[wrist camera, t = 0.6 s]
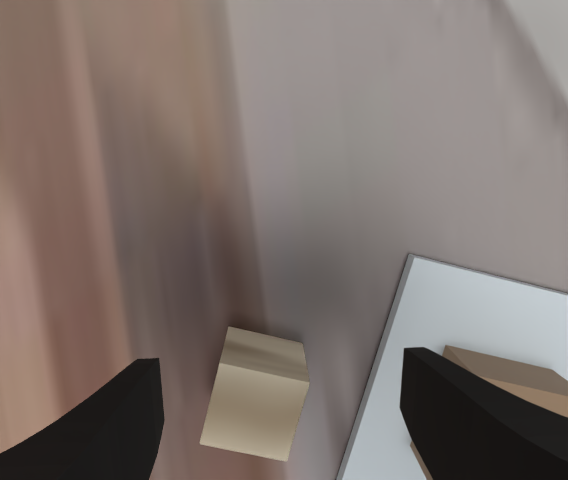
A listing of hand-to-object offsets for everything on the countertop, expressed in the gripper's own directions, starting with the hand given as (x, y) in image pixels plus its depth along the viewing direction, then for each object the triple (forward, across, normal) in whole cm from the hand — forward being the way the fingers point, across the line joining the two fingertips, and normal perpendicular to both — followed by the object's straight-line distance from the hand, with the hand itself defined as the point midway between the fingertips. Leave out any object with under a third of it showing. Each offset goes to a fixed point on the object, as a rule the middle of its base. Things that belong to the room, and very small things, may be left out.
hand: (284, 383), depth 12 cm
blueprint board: (+8, -11, +7) cm, 16 cm away
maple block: (+9, +1, +5) cm, 10 cm away
